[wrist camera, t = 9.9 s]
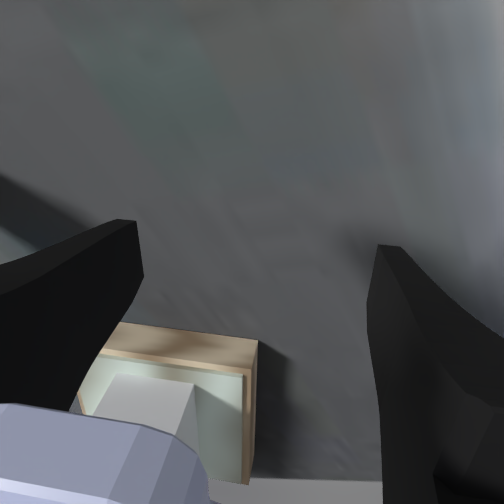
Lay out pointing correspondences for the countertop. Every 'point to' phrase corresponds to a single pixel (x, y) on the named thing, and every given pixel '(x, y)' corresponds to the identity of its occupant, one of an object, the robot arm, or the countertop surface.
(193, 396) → the block
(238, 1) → the countertop surface
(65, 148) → the countertop surface
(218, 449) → the stand
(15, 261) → the robot arm
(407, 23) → the countertop surface
